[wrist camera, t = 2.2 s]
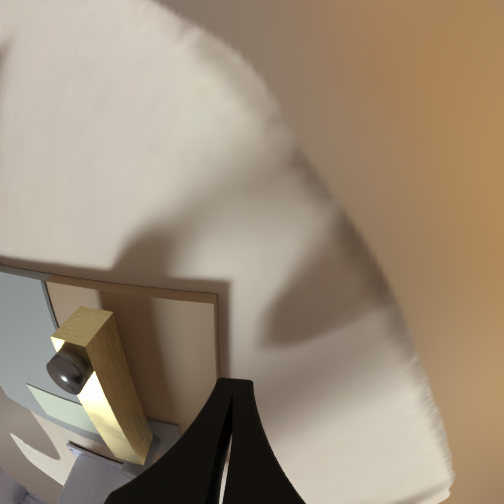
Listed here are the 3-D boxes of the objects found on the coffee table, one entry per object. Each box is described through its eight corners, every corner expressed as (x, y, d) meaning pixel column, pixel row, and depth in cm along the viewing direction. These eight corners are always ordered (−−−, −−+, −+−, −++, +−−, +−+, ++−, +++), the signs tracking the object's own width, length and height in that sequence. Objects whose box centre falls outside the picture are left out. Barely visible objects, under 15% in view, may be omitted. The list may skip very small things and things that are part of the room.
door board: (224, 464, 17) (217, 510, 13) (11, 392, 18) (-8, 417, 13) (217, 293, 11) (192, 369, 7) (-47, 254, 12) (-80, 275, 8)
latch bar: (153, 436, 13) (138, 478, 10) (127, 429, 13) (110, 469, 10) (113, 312, 10) (71, 364, 7) (80, 305, 10) (36, 351, 7)
